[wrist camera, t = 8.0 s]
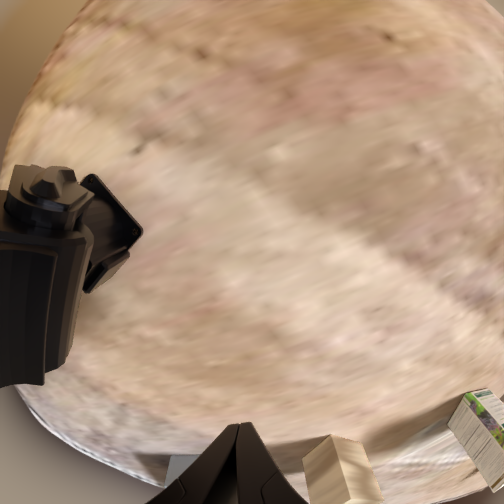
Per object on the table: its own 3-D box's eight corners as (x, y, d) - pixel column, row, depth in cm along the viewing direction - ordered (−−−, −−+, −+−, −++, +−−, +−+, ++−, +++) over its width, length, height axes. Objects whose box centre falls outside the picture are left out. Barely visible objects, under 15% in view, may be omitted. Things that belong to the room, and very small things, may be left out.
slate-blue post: (163, 486, 21) (197, 522, 24) (209, 487, 21) (234, 523, 24) (171, 453, 26) (200, 495, 29) (213, 453, 26) (235, 494, 28)
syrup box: (489, 386, 26) (545, 445, 11) (470, 418, 27) (517, 479, 13) (464, 392, 25) (524, 461, 11) (444, 425, 27) (492, 495, 12)
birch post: (301, 458, 26) (313, 520, 18) (330, 434, 25) (350, 498, 17) (333, 466, 27) (348, 522, 18) (361, 443, 26) (384, 500, 17)
